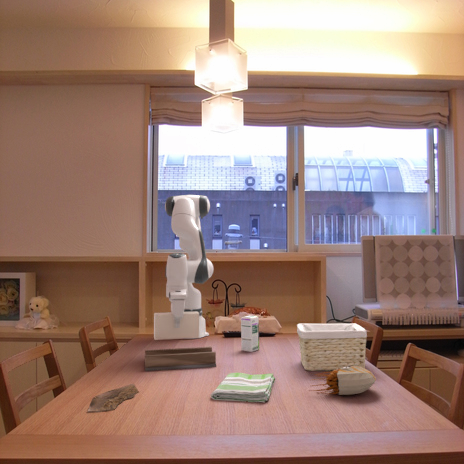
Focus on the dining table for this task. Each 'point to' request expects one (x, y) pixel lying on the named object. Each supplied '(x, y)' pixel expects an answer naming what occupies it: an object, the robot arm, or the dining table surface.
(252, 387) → the dish towel
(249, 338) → the syrup box
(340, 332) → the storage basket
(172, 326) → the white rectangular block
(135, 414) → the dining table surface
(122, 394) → the wooden fragment
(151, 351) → the slot rack
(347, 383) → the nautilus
